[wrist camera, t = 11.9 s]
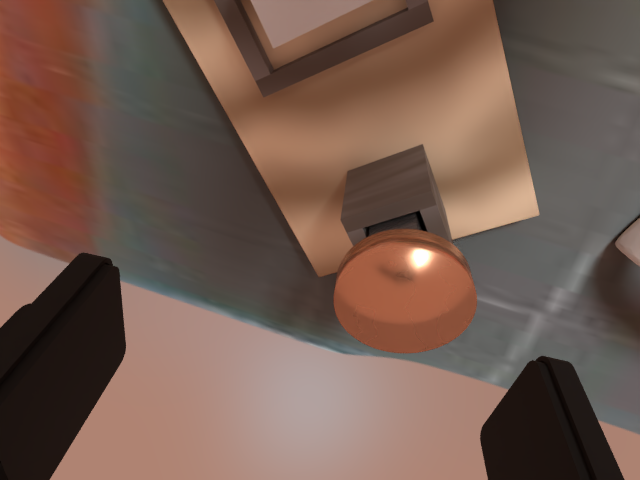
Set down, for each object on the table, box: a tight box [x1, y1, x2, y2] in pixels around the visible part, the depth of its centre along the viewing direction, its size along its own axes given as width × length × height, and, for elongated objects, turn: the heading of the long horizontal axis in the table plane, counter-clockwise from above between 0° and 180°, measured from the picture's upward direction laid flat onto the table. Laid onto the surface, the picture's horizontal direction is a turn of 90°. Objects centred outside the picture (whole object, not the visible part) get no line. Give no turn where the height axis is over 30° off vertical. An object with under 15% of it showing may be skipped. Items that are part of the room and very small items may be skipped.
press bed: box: [163, 0, 539, 277], centre depth 23 cm, size 26×16×8 cm, turn 25°
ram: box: [334, 211, 477, 353], centre depth 23 cm, size 6×6×7 cm
